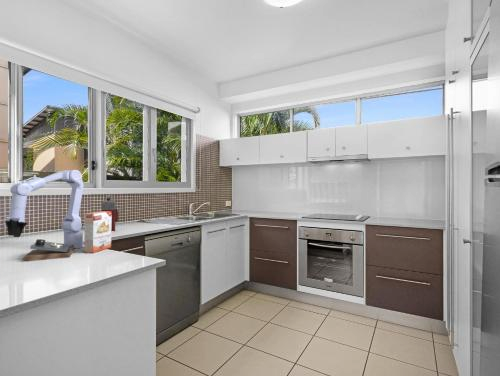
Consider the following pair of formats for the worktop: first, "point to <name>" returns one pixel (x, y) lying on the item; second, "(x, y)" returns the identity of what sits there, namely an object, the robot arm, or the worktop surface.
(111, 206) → the toy vending machine
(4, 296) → the worktop surface
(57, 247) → the plate
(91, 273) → the worktop surface
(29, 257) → the base
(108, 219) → the cracker box
